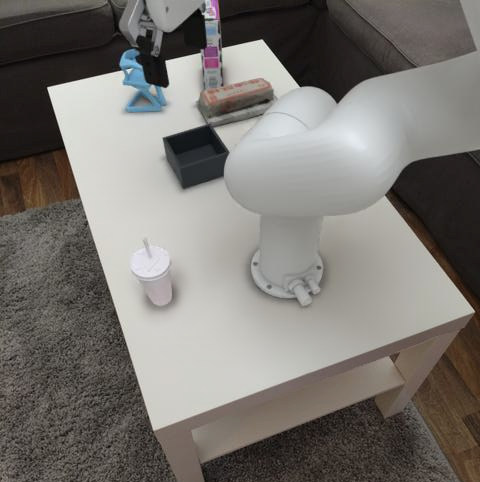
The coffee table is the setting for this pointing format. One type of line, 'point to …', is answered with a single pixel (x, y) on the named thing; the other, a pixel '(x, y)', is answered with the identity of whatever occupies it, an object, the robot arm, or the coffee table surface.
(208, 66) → the candy bar box
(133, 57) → the chair
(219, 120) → the packaged product
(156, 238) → the coffee table surface
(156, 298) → the smoothie
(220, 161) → the box
